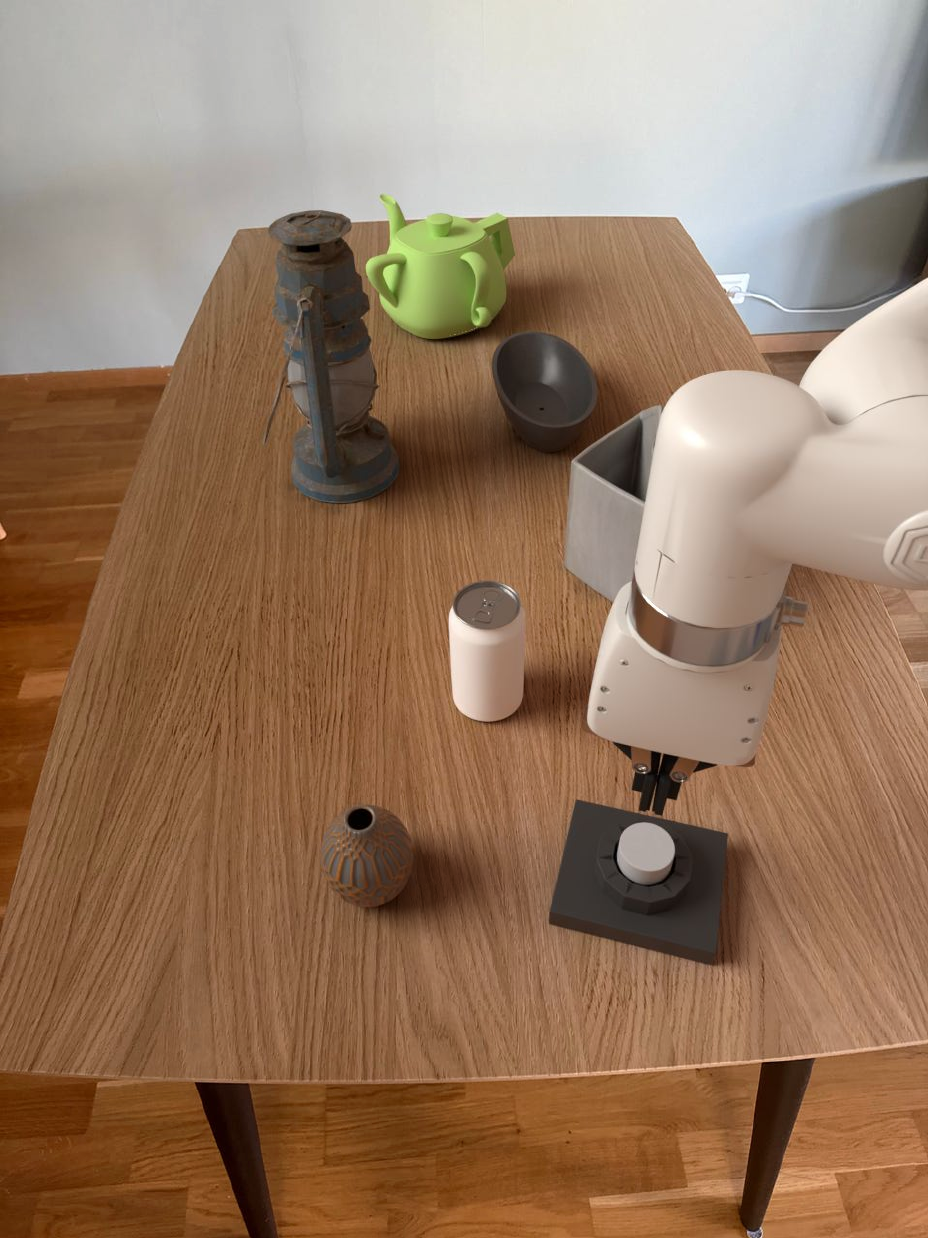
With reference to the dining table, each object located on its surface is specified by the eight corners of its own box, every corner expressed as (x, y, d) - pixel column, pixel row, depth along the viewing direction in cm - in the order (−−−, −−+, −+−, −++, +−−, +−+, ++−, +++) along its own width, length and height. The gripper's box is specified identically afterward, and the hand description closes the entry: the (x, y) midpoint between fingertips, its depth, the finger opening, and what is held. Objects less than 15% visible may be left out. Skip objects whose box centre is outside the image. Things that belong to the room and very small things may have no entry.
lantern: (392, 522, 101) (363, 257, 80) (264, 522, 102) (201, 259, 80) (405, 423, 115) (384, 173, 93) (292, 423, 115) (245, 175, 94)
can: (531, 678, 85) (534, 585, 76) (512, 731, 81) (514, 639, 72) (464, 663, 86) (461, 570, 78) (443, 715, 82) (436, 623, 74)
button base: (723, 846, 72) (733, 819, 69) (711, 965, 66) (721, 941, 63) (574, 812, 75) (577, 784, 72) (548, 924, 68) (550, 898, 65)
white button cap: (674, 843, 69) (678, 829, 67) (667, 891, 66) (671, 877, 64) (621, 831, 69) (624, 816, 68) (612, 877, 67) (615, 863, 65)
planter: (560, 516, 101) (570, 359, 87) (632, 516, 101) (654, 358, 87) (567, 622, 90) (580, 460, 76) (648, 622, 90) (677, 460, 76)
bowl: (508, 477, 106) (509, 432, 102) (481, 378, 122) (480, 335, 117) (610, 466, 107) (615, 421, 103) (570, 369, 123) (573, 327, 118)
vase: (433, 864, 72) (427, 802, 66) (384, 937, 68) (372, 879, 61) (361, 826, 74) (348, 763, 68) (309, 894, 70) (291, 834, 64)
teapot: (496, 352, 126) (496, 249, 116) (357, 342, 129) (345, 241, 119) (515, 289, 139) (517, 192, 129) (388, 282, 142) (380, 186, 132)
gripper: (847, 581, 49) (769, 775, 63) (575, 533, 52) (555, 729, 66) (848, 683, 44) (763, 871, 58) (547, 624, 47) (532, 816, 60)
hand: (653, 795), depth 61 cm, fingers closed
